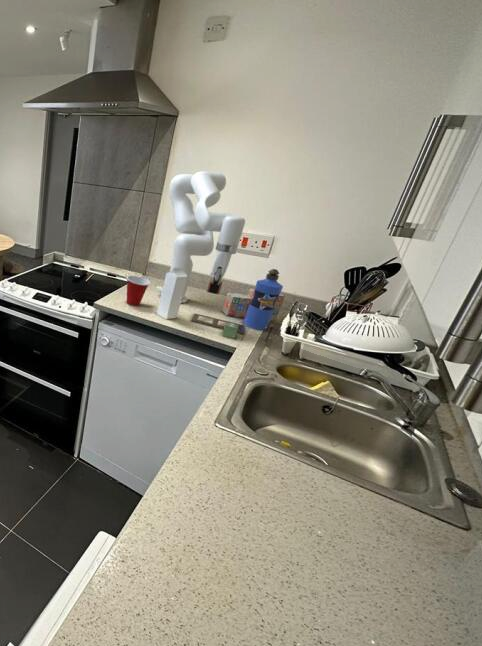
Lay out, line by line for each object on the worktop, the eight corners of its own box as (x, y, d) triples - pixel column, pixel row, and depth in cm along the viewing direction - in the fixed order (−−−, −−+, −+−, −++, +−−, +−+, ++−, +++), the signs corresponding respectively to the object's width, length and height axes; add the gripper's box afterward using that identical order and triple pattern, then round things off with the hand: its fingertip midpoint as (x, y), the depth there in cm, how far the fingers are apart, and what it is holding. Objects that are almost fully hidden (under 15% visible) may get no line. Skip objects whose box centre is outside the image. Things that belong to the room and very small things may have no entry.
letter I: (221, 335, 156) (225, 325, 154) (222, 331, 159) (226, 321, 157) (234, 338, 154) (237, 328, 152) (235, 335, 157) (238, 324, 155)
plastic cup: (139, 309, 175) (145, 284, 170) (117, 302, 181) (122, 278, 176) (149, 304, 183) (154, 280, 178) (128, 297, 189) (132, 274, 184)
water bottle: (269, 331, 163) (291, 274, 153) (245, 327, 165) (265, 270, 155) (263, 323, 172) (284, 268, 162) (240, 319, 174) (259, 265, 164)
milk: (176, 318, 170) (190, 269, 161) (166, 319, 167) (179, 269, 158) (166, 312, 175) (179, 264, 166) (156, 313, 172) (168, 265, 163)
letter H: (206, 291, 162) (209, 281, 160) (208, 289, 166) (211, 278, 164) (218, 294, 160) (221, 283, 158) (219, 291, 164) (222, 281, 162)
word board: (190, 321, 167) (191, 319, 167) (194, 314, 175) (194, 313, 175) (243, 334, 158) (243, 333, 158) (244, 326, 166) (244, 325, 166)
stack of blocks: (226, 316, 176) (235, 290, 172) (221, 310, 182) (229, 285, 177) (275, 321, 175) (285, 295, 170) (268, 316, 181) (278, 291, 176)
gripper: (218, 243, 164) (206, 284, 171) (213, 249, 150) (200, 294, 158) (237, 246, 160) (224, 288, 168) (235, 253, 147) (221, 299, 154)
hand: (213, 291), depth 163 cm, fingers closed on letter H, 4 cm apart
